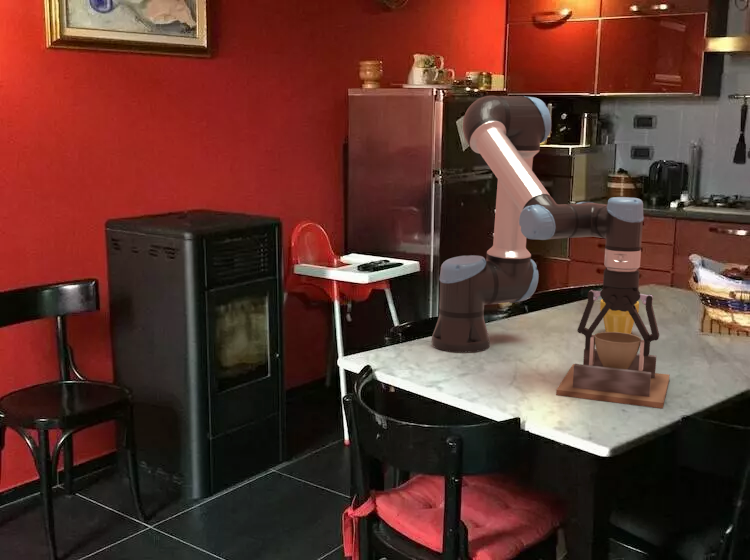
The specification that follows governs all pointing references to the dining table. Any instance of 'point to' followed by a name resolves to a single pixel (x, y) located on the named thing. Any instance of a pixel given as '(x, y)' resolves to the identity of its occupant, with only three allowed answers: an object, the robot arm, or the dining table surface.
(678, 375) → the dining table surface
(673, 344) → the dining table surface
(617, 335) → the flower pot
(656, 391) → the cup cradle
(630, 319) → the plant pot
